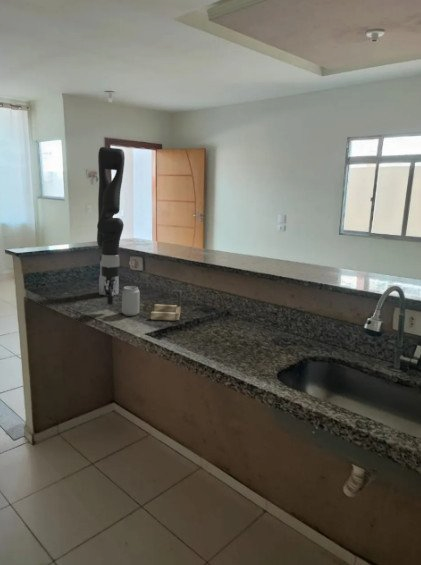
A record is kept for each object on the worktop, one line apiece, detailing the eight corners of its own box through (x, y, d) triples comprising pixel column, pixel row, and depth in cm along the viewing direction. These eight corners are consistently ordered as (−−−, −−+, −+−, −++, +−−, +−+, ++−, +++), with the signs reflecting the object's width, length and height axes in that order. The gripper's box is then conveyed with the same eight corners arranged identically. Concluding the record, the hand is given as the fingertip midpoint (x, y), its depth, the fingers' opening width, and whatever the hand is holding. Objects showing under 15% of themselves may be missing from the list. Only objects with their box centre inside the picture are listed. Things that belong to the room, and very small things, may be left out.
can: (142, 313, 178) (143, 286, 176) (132, 317, 172) (132, 290, 169) (128, 310, 181) (128, 284, 179) (118, 314, 175) (118, 287, 172)
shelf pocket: (150, 319, 170) (151, 296, 168) (154, 310, 183) (155, 289, 181) (178, 320, 171) (179, 297, 168) (180, 311, 183) (181, 290, 181)
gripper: (105, 261, 178) (105, 299, 182) (97, 267, 165) (97, 307, 169) (122, 262, 178) (122, 300, 182) (115, 267, 165) (115, 308, 169)
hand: (110, 303), depth 175 cm, fingers closed
